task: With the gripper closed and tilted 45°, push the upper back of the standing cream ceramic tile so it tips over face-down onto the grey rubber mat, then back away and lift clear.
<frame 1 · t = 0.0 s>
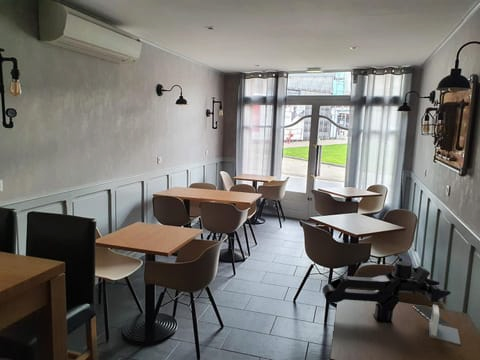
hand: (444, 287, 155), 17 cm above the table, tool horizontal, fingers open, 9 cm apart
mat: (443, 333, 149), on the table
tile: (433, 329, 151), resting on mat
smartphone: (429, 316, 164), on the table
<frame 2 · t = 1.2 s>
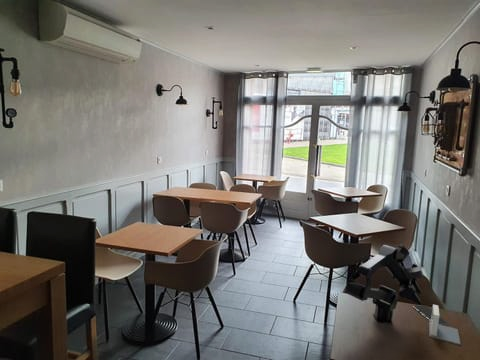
hand: (420, 298, 154), 12 cm above the table, tool tilted 45°, fingers open, 9 cm apart
nothing on the table moved.
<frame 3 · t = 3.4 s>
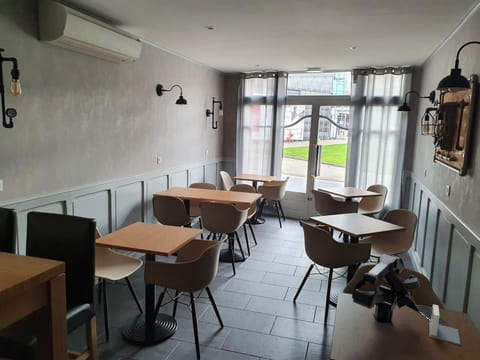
hand: (417, 310, 153), 7 cm above the table, tool tilted 45°, fingers closed
nothing on the table moved.
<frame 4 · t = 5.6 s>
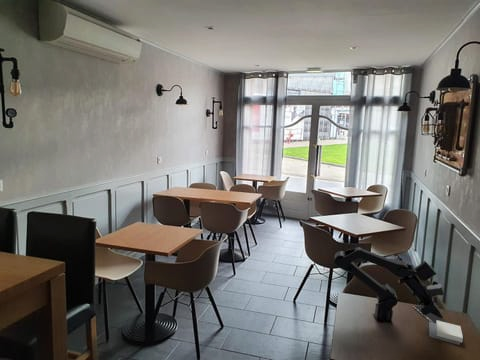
hand: (442, 317, 149), 7 cm above the table, tool tilted 45°, fingers closed
tile: (436, 327, 150), point 2 cm above the table, tilted 90°, touching mat
everything else where it was.
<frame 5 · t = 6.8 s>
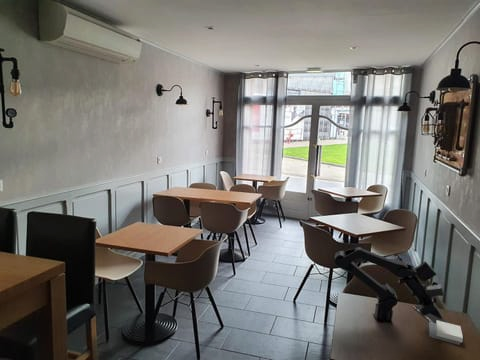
hand: (441, 318, 149), 6 cm above the table, tool tilted 45°, fingers closed
nothing on the table moved.
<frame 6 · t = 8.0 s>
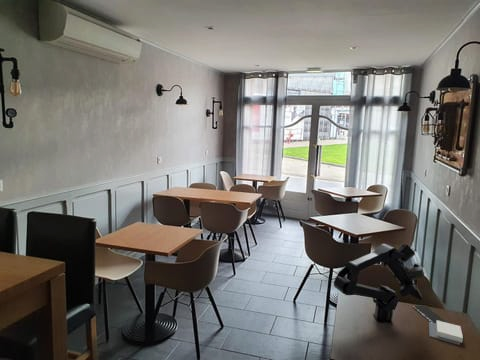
hand: (422, 299, 152), 13 cm above the table, tool tilted 45°, fingers closed
nothing on the table moved.
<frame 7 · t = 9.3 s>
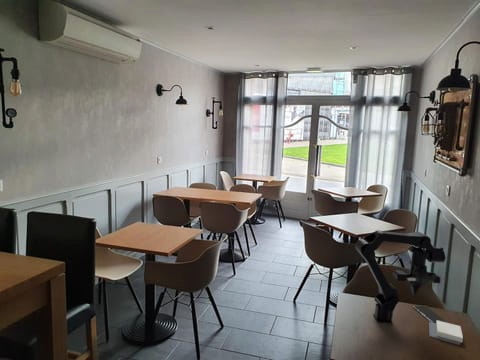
hand: (414, 294, 157), 12 cm above the table, tool pointing down, fingers closed
nothing on the table moved.
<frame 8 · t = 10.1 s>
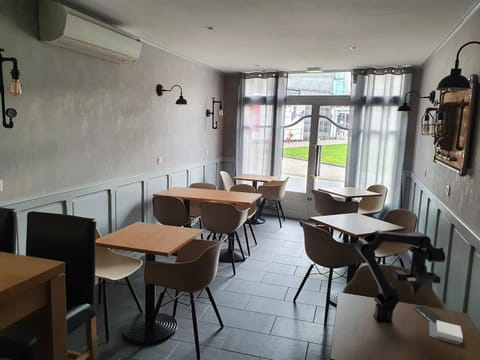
hand: (414, 294, 157), 12 cm above the table, tool pointing down, fingers closed
nothing on the table moved.
at the end: tile tilted 90°; tile inside the target area on the mat (2.9 cm from its centre), point 1.7 cm above the mat's base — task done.
